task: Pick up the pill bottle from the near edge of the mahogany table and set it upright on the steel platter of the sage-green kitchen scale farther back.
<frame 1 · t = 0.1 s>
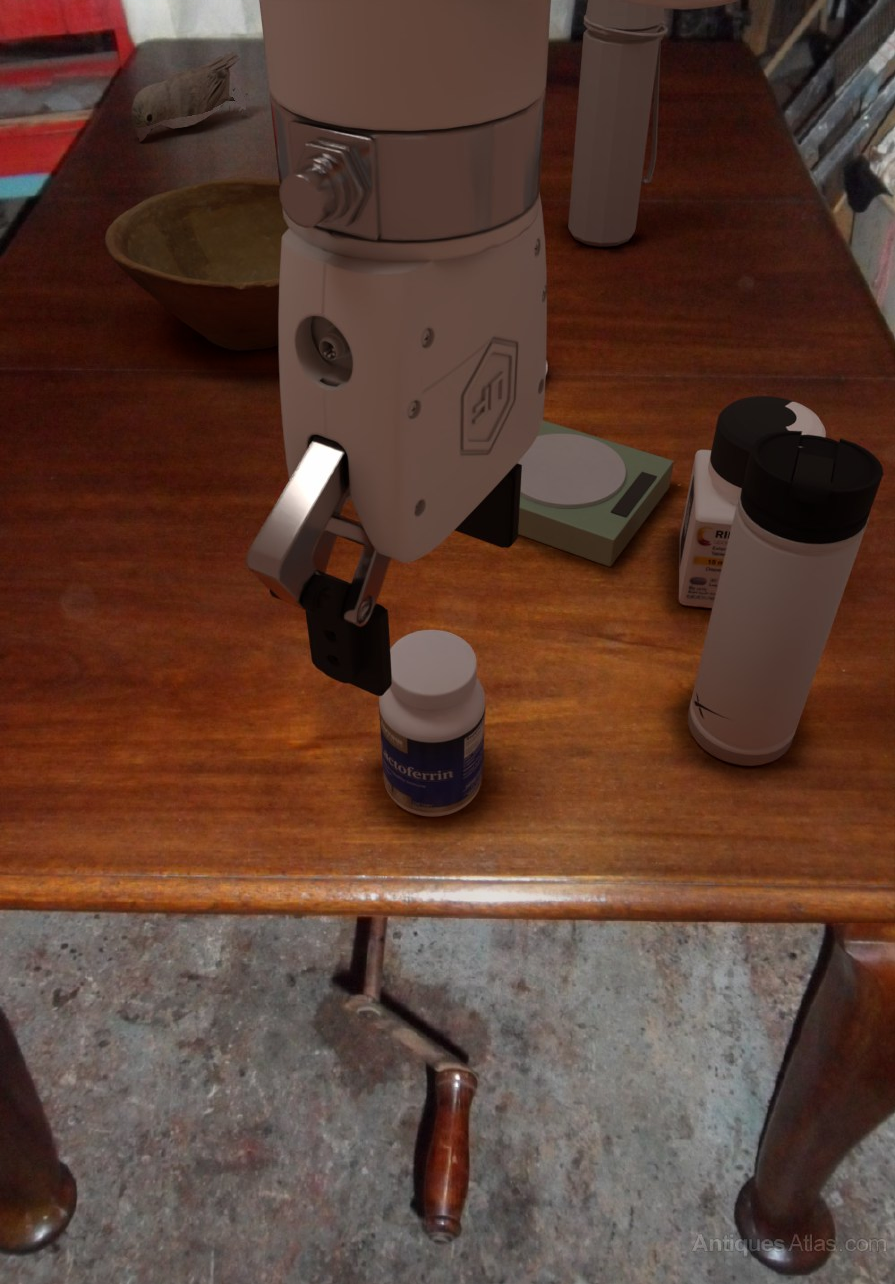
hand: (421, 601, 42), 20 cm above the table, tool pointing down, fingers open, 9 cm apart
container: (734, 578, 74), on the table
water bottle: (608, 236, 114), on the table
pill bottle: (433, 782, 61), on the table
vase: (420, 217, 118), on the table
scale: (567, 501, 80), on the table
decorative bird: (193, 129, 138), on the table
candle holder: (479, 374, 94), on the table
travel mug: (738, 731, 64), on the table
bowl: (253, 332, 100), on the table
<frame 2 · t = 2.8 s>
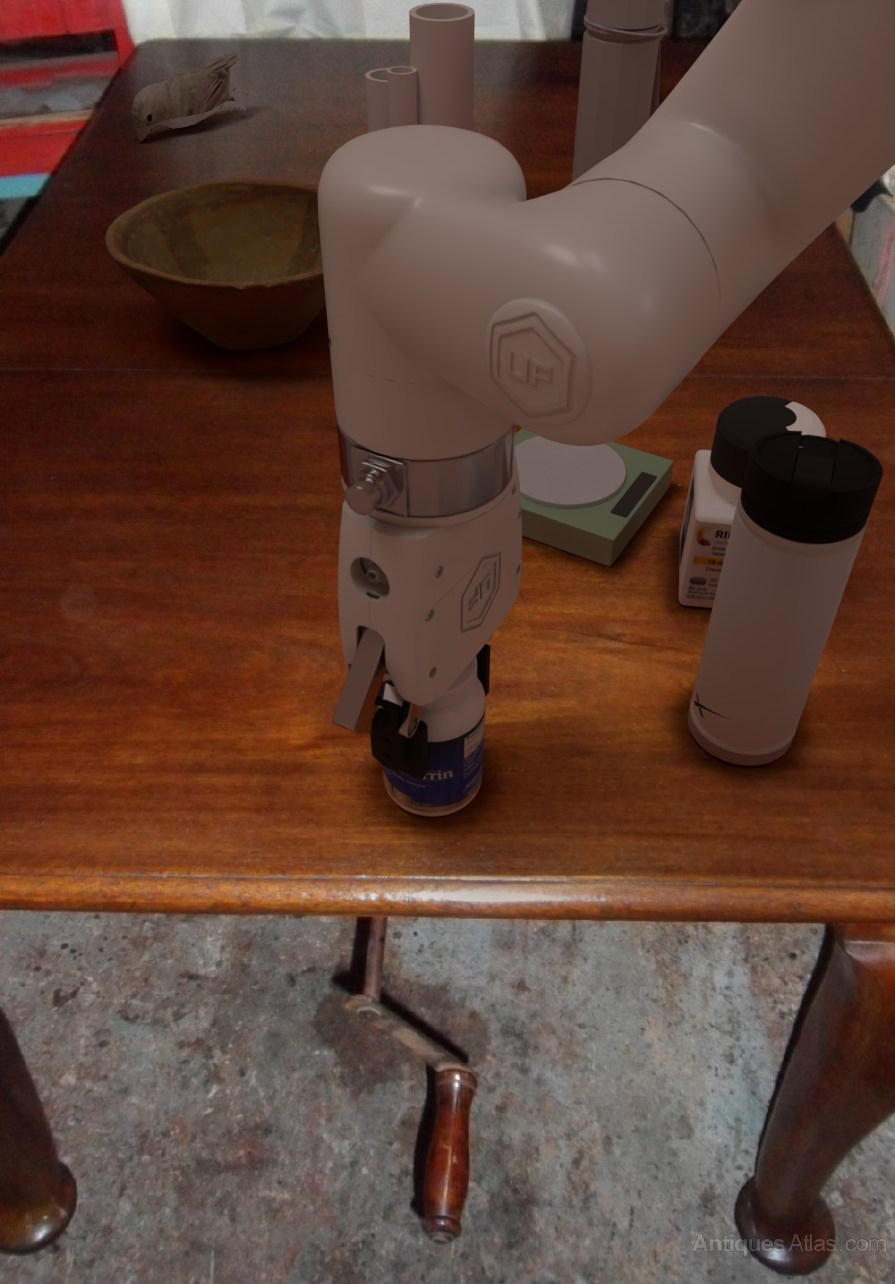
hand: (432, 723, 58), 5 cm above the table, tool pointing down, fingers closed on pill bottle, 5 cm apart
pill bottle: (433, 782, 61), on the table, touching gripper
everything else where it was.
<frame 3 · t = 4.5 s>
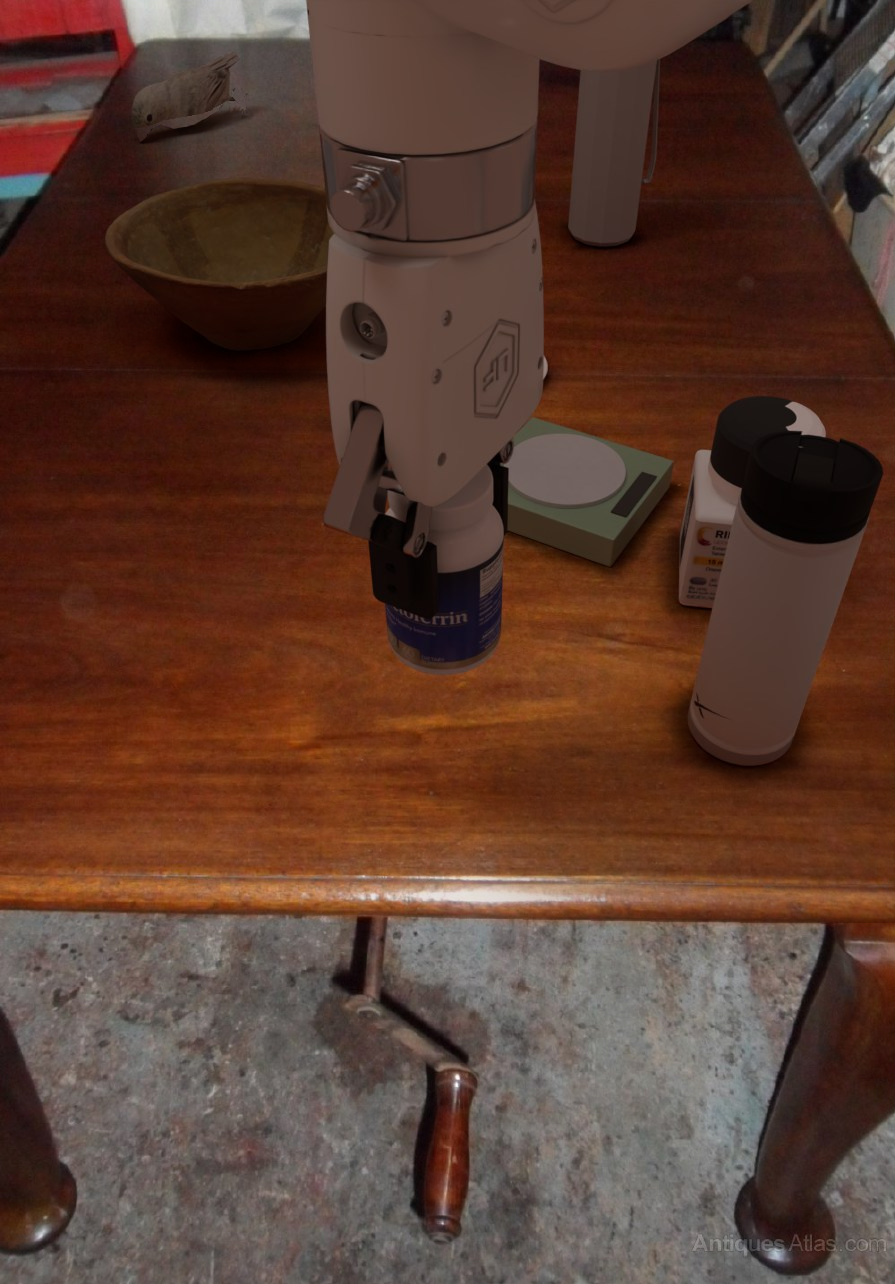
hand: (442, 563, 50), 16 cm above the table, tool pointing down, fingers closed on pill bottle, 5 cm apart
pill bottle: (444, 642, 54), point 11 cm above the table, touching gripper
everything else where it was.
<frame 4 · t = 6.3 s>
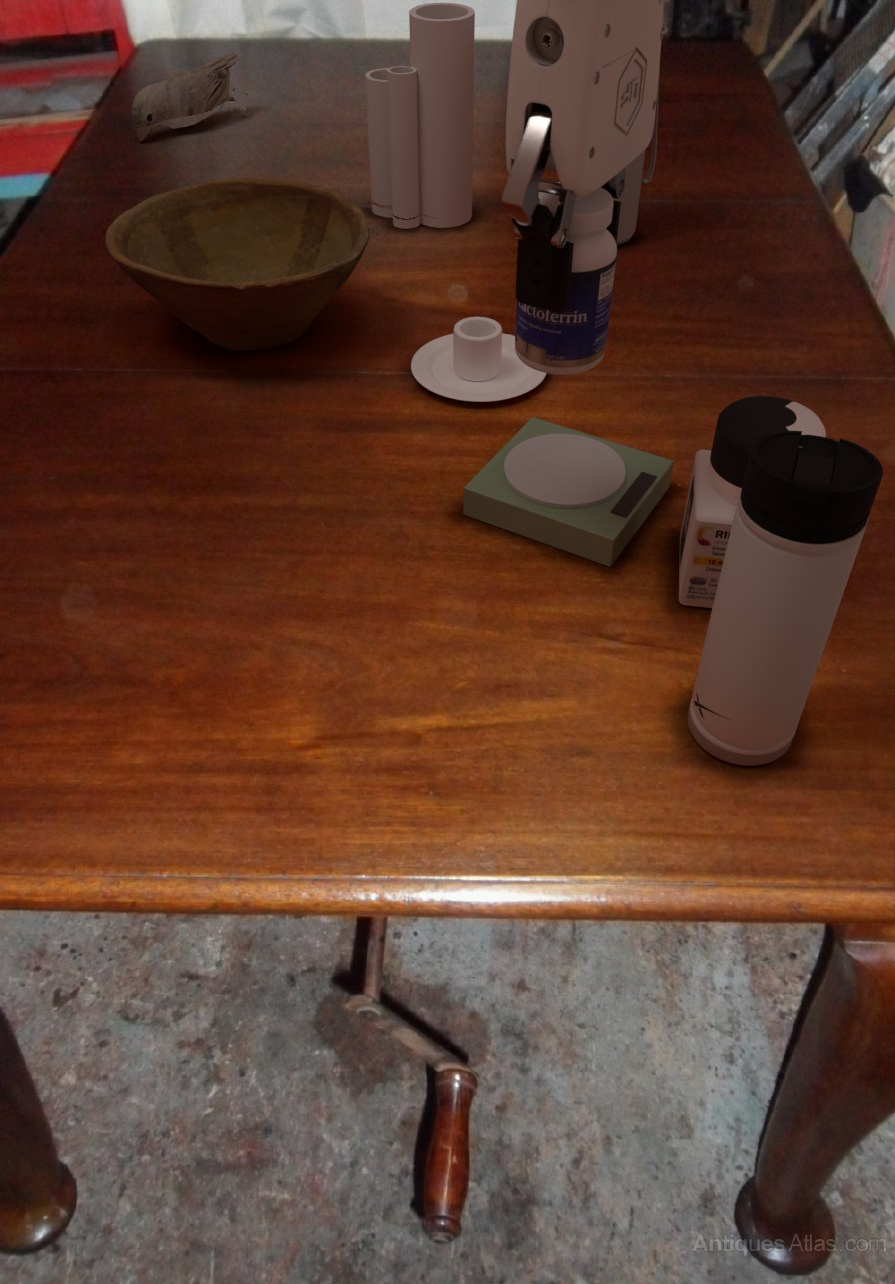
hand: (566, 280, 64), 20 cm above the table, tool pointing down, fingers closed on pill bottle, 5 cm apart
pill bottle: (559, 358, 67), point 14 cm above the table, touching gripper
everything else where it was.
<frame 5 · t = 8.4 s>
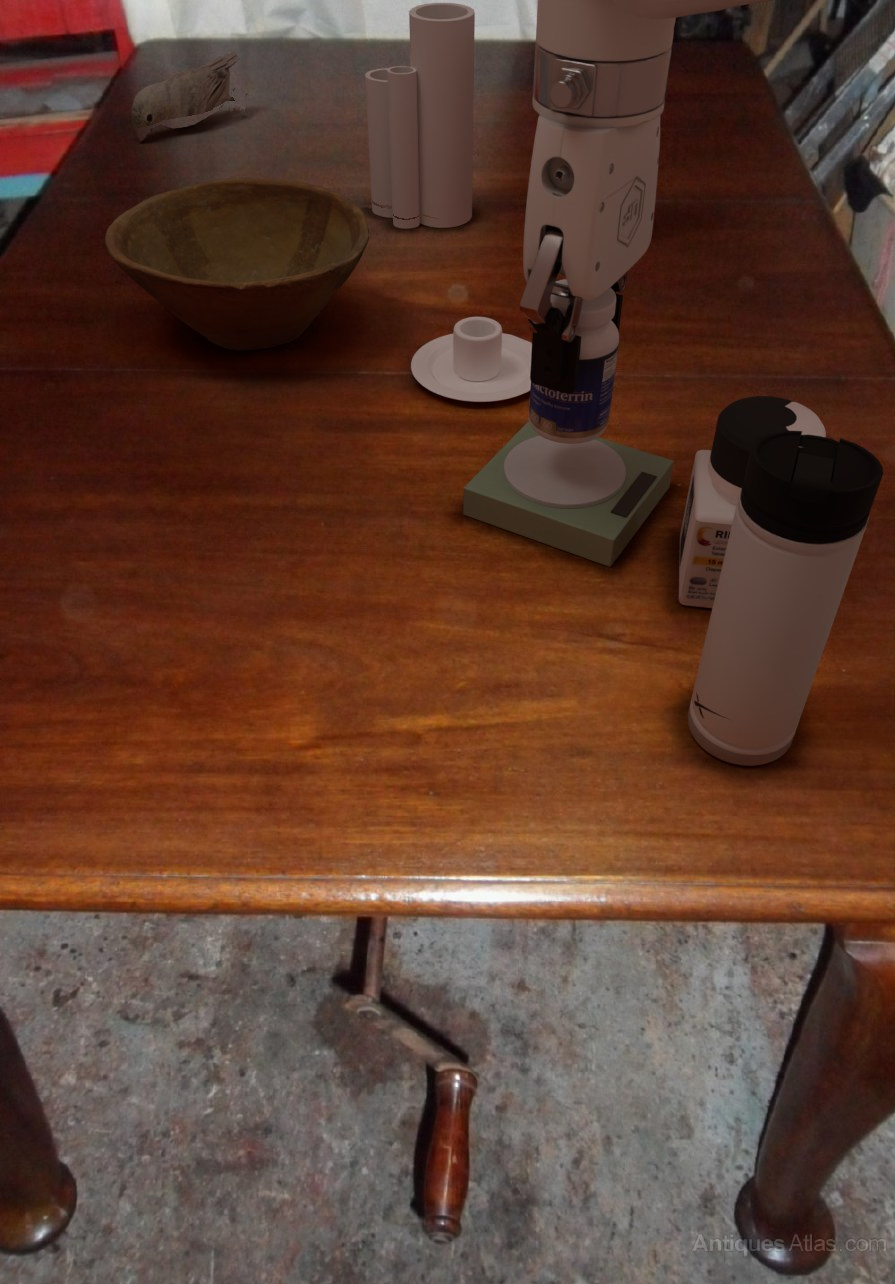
hand: (574, 363, 72), 11 cm above the table, tool pointing down, fingers closed on pill bottle, 5 cm apart
pill bottle: (567, 427, 76), point 6 cm above the table, touching gripper
everything else where it was.
when the fingers open (8 cm above the table, at t = 9.8 s): pill bottle stays where it is, resting on scale.
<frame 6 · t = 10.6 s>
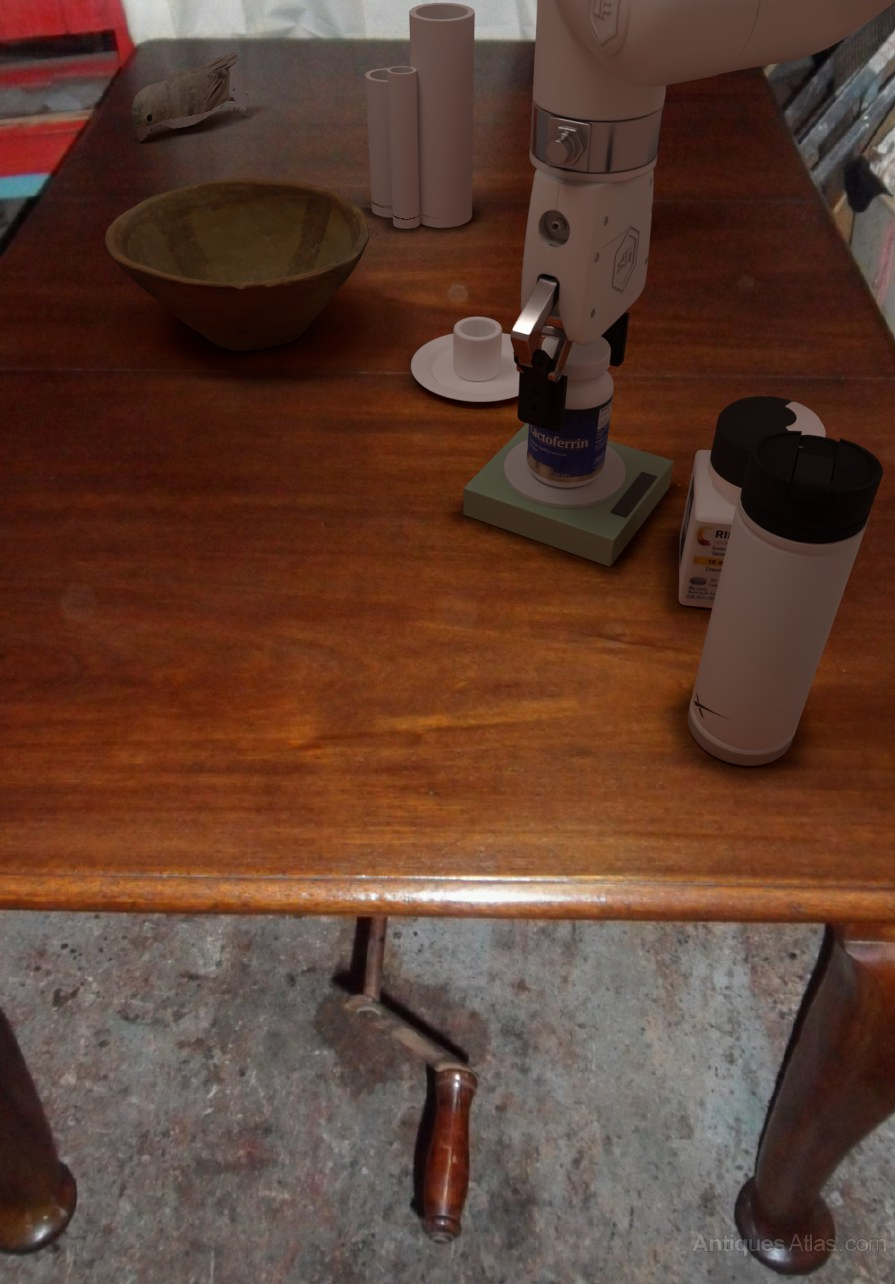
hand: (571, 391, 74), 9 cm above the table, tool pointing down, fingers open, 9 cm apart
pill bottle: (564, 470, 79), point 3 cm above the table, touching scale
everything else where it was.
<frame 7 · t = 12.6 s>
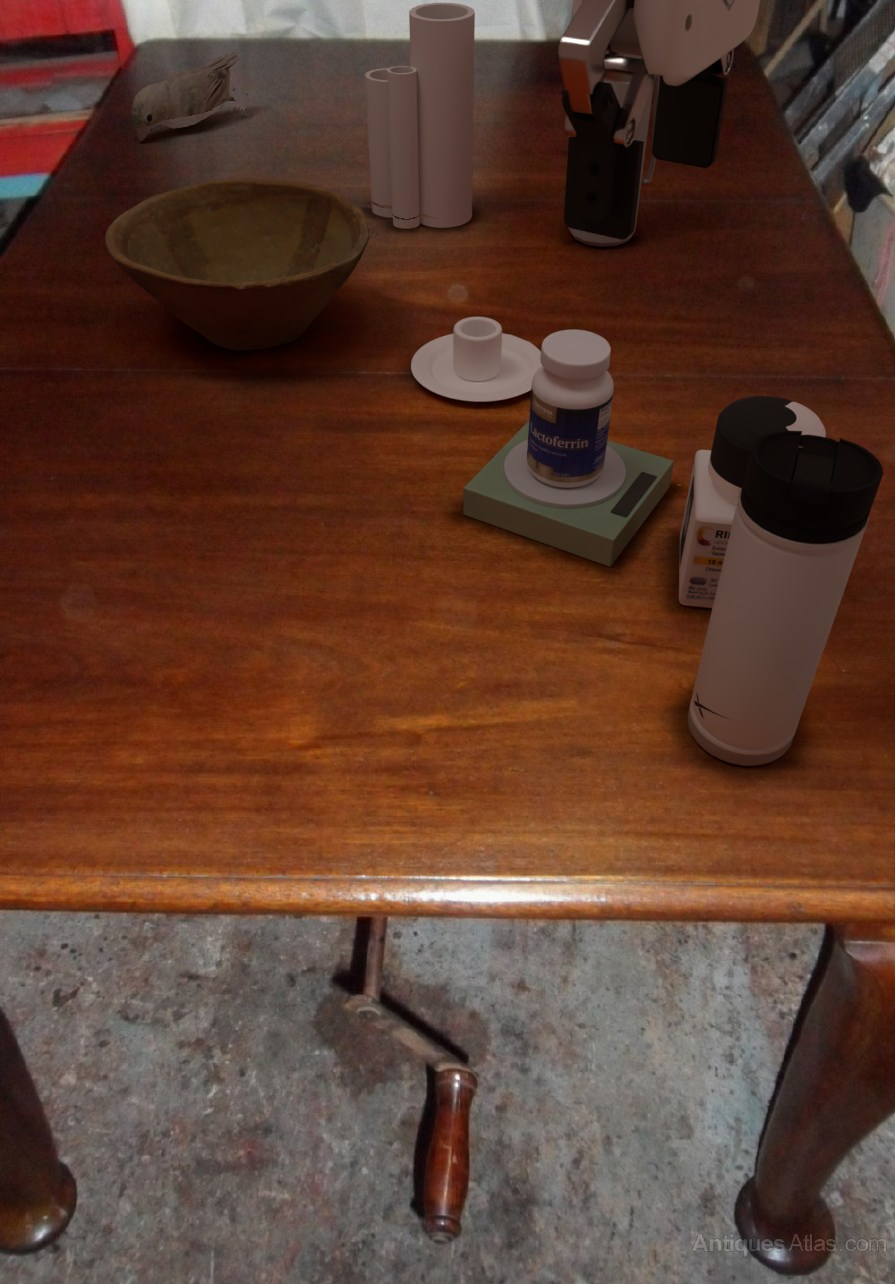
hand: (642, 194, 50), 29 cm above the table, tool pointing down, fingers open, 9 cm apart
nothing on the table moved.
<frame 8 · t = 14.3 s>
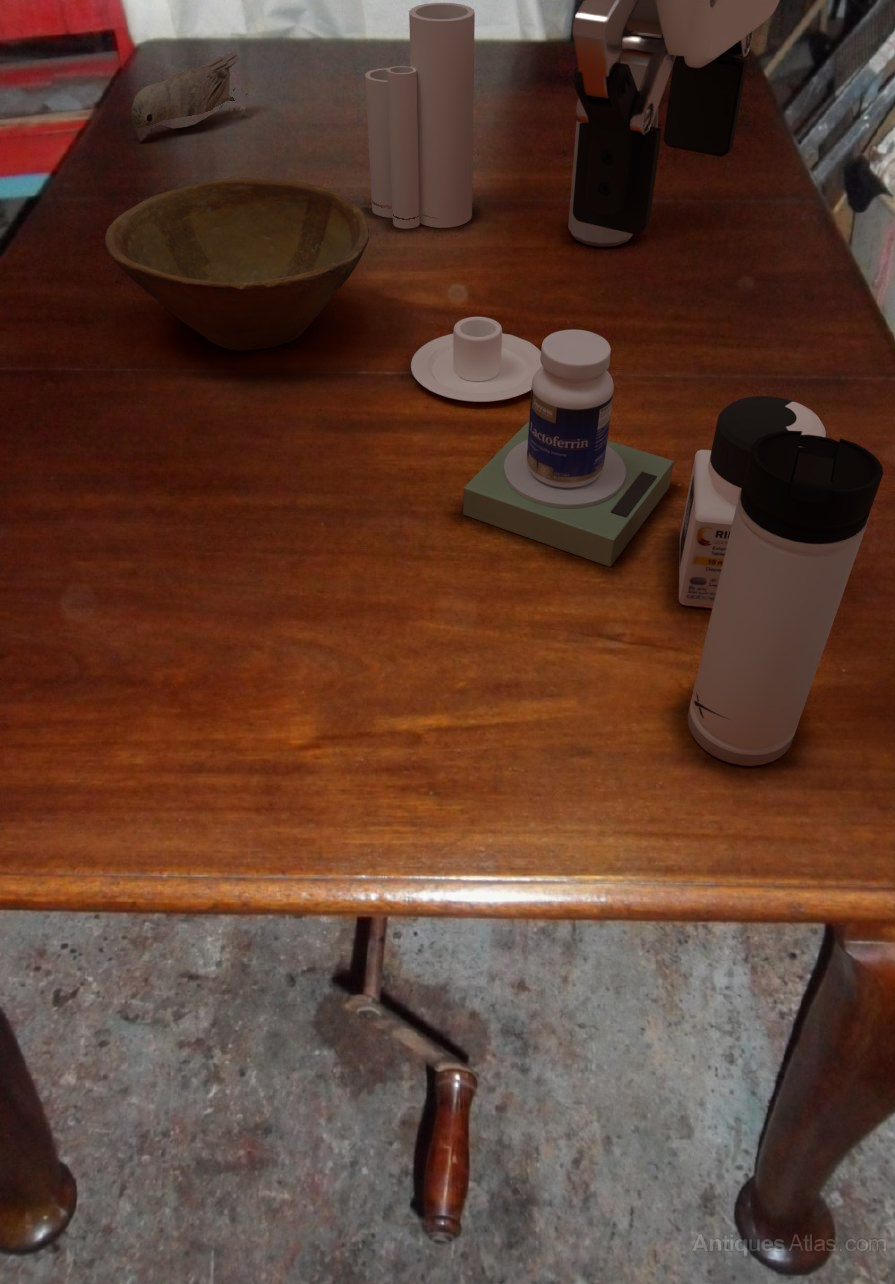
hand: (655, 185, 47), 30 cm above the table, tool pointing down, fingers open, 9 cm apart
nothing on the table moved.
at the end: pill bottle inside the target area on the scale (0.1 cm from its centre), point 2.7 cm above the scale's base; pill bottle tilted 0°; the gripper is holding nothing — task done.
